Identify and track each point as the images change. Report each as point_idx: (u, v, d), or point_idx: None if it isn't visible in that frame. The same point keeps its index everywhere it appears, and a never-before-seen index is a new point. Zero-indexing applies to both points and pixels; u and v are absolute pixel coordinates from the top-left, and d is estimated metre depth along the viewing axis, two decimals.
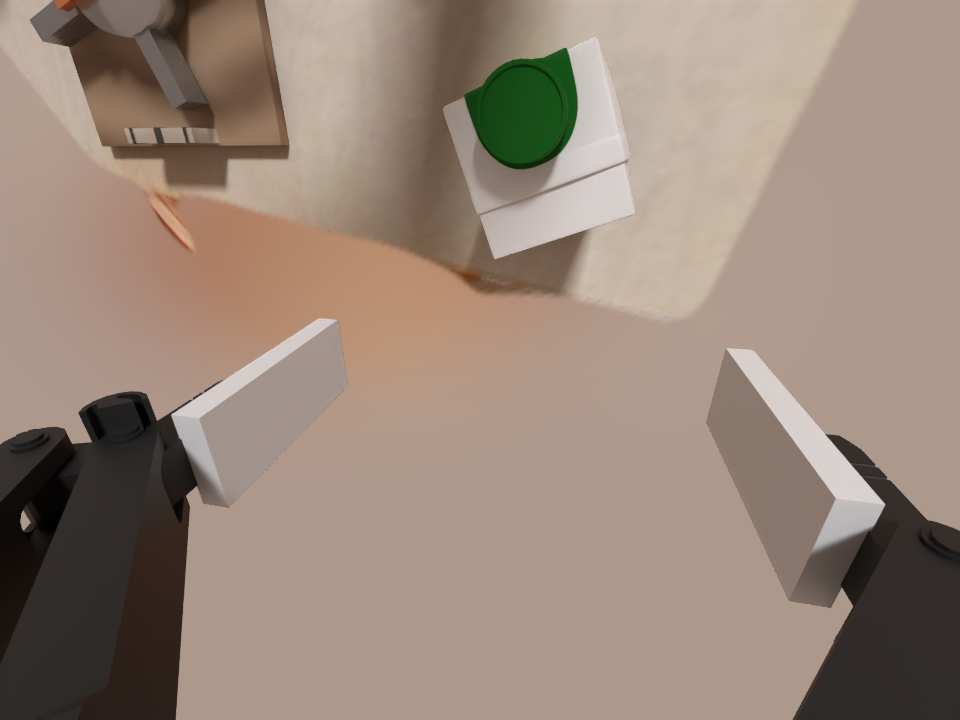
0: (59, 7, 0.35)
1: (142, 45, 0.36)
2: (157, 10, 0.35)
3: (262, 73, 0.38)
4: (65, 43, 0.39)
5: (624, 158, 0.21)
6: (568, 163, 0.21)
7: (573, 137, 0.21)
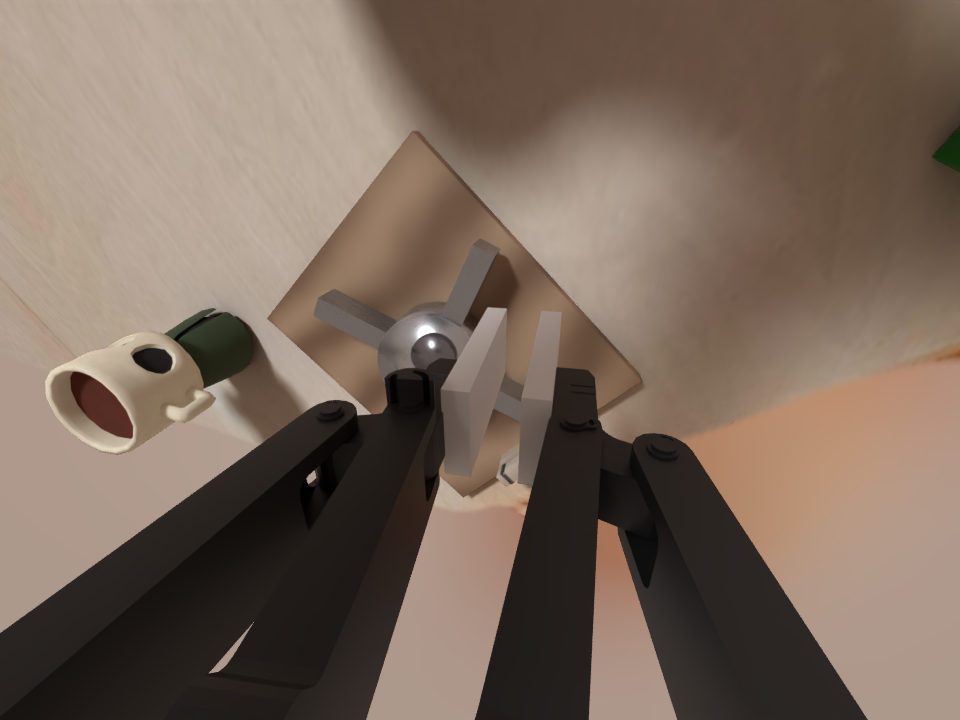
0: None
1: None
2: None
3: (587, 333, 0.32)
4: None
5: None
6: None
7: None
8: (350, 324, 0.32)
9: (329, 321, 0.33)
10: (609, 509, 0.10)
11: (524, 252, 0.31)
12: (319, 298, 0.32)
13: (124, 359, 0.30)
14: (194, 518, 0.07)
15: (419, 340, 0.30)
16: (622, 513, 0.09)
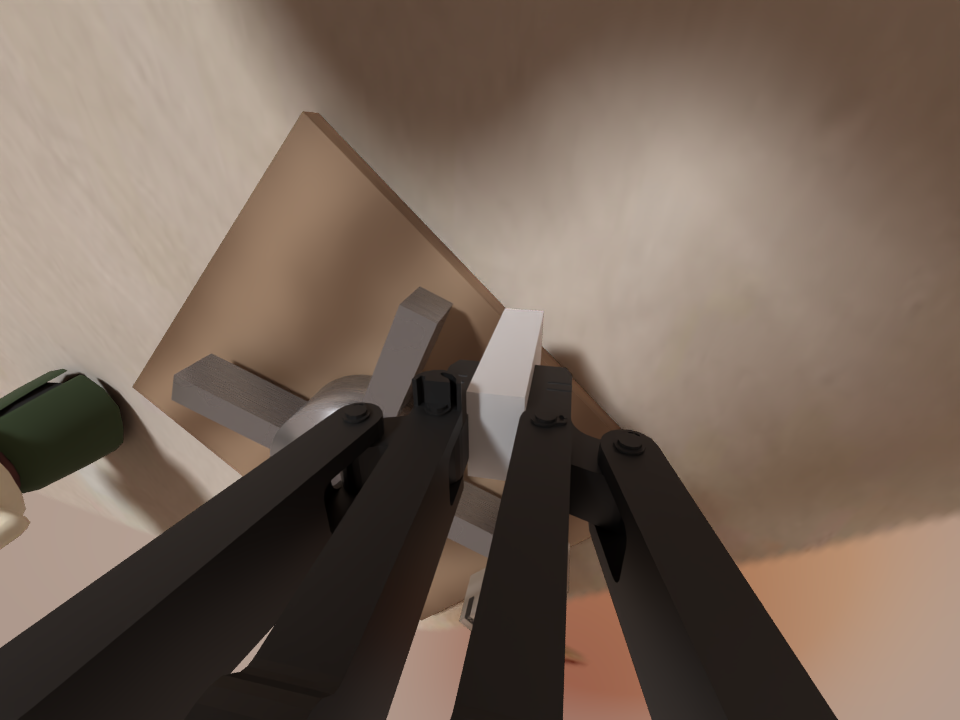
0: None
1: None
2: None
3: (592, 427, 0.21)
4: None
5: None
6: None
7: None
8: (226, 414, 0.21)
9: (196, 409, 0.21)
10: (578, 503, 0.10)
11: (493, 306, 0.20)
12: (176, 375, 0.21)
13: None
14: (219, 519, 0.07)
15: None
16: (591, 508, 0.10)
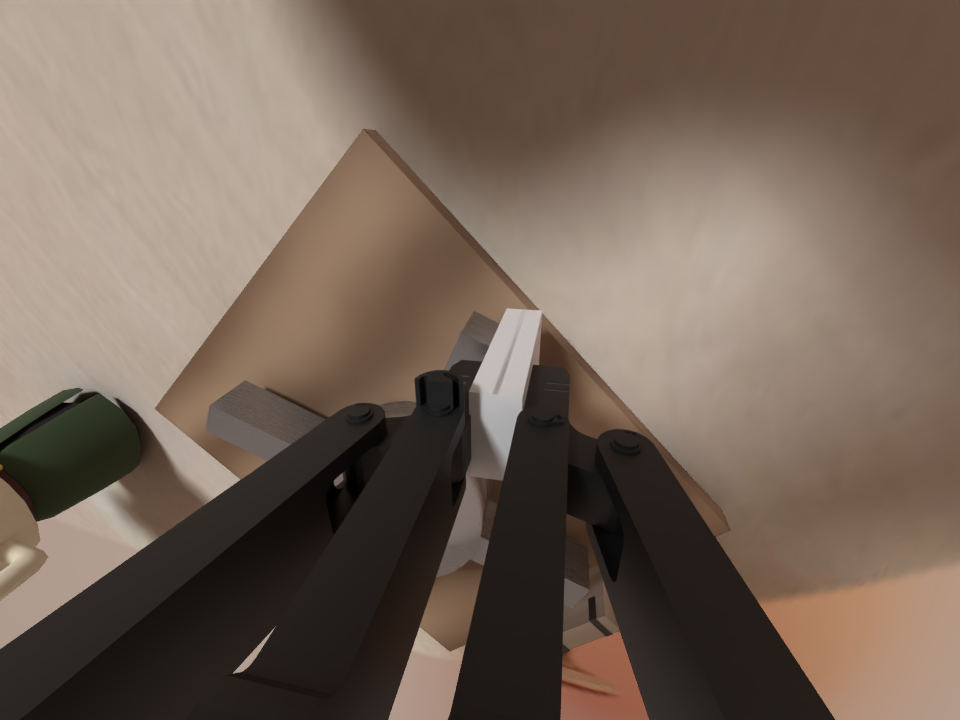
0: None
1: None
2: (482, 506, 0.19)
3: None
4: None
5: None
6: None
7: None
8: (264, 445, 0.20)
9: (232, 440, 0.20)
10: (574, 503, 0.10)
11: (552, 333, 0.19)
12: (212, 406, 0.19)
13: None
14: (222, 519, 0.07)
15: None
16: (587, 508, 0.10)
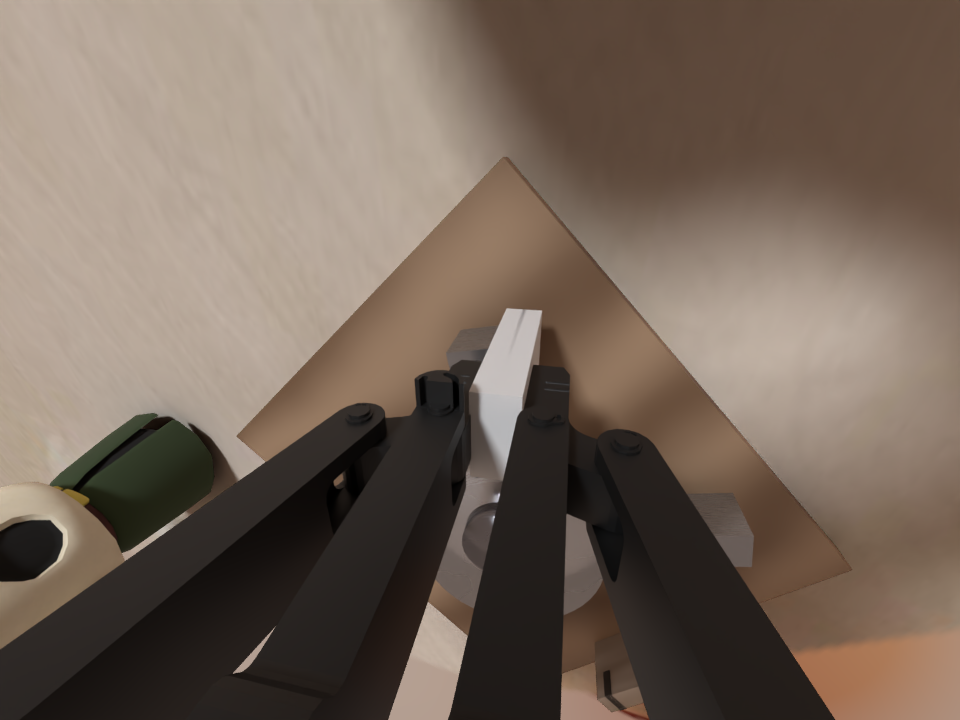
0: None
1: None
2: None
3: (772, 496, 0.19)
4: None
5: None
6: None
7: None
8: None
9: None
10: (575, 503, 0.10)
11: (681, 367, 0.18)
12: None
13: None
14: (221, 519, 0.07)
15: (465, 532, 0.18)
16: (588, 507, 0.10)
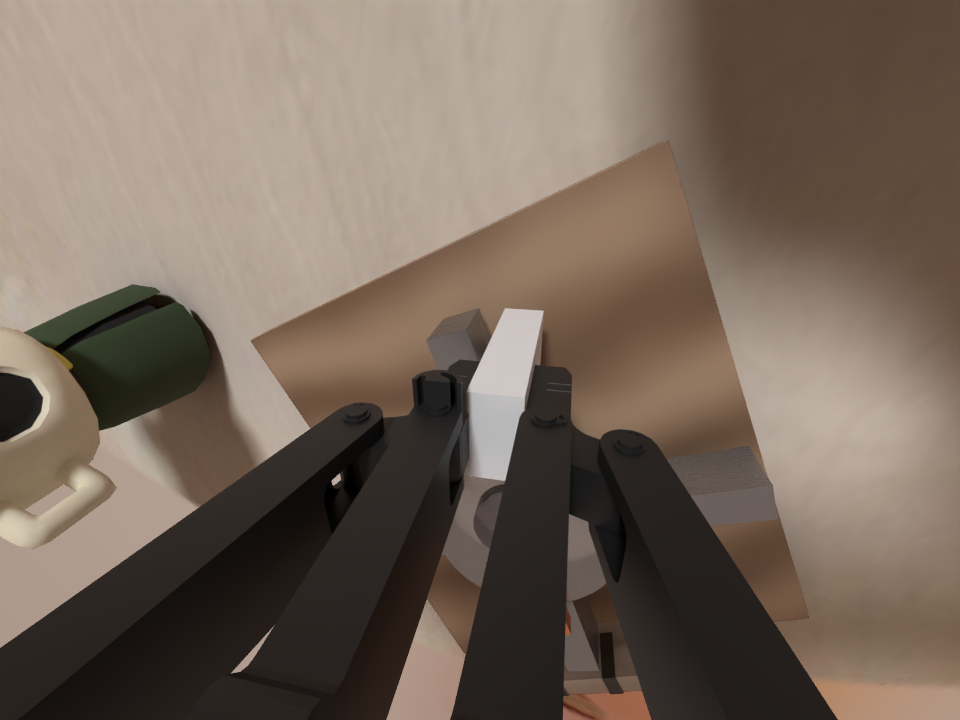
0: (568, 632, 0.19)
1: None
2: None
3: (771, 540, 0.21)
4: (596, 634, 0.23)
5: None
6: None
7: None
8: None
9: None
10: (577, 503, 0.10)
11: None
12: None
13: None
14: (219, 519, 0.07)
15: (475, 518, 0.18)
16: (590, 508, 0.10)
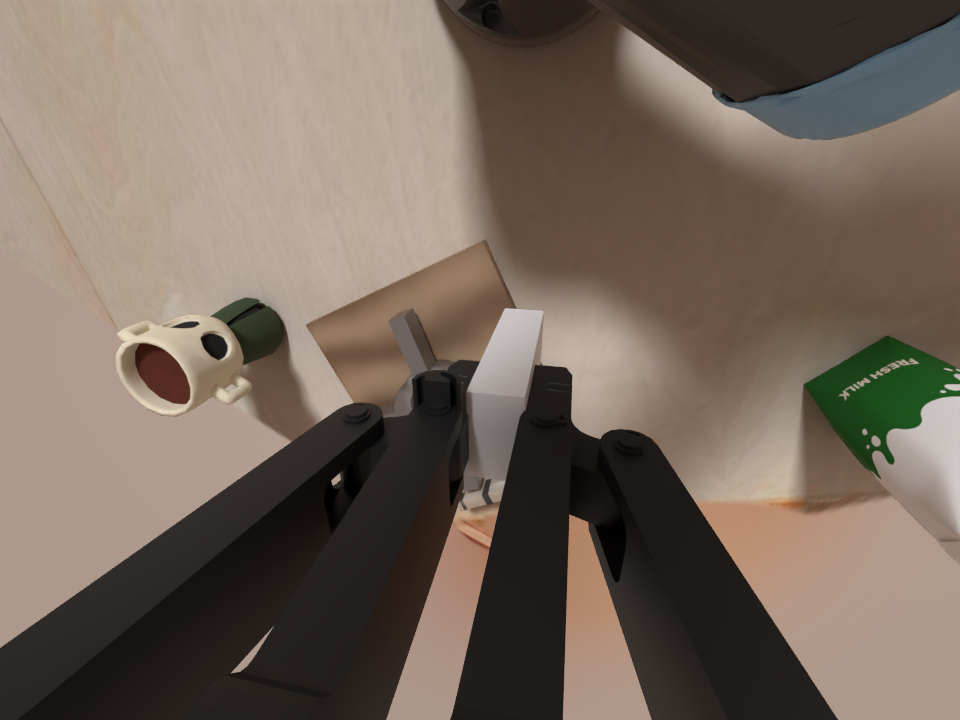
0: None
1: None
2: None
3: None
4: None
5: None
6: None
7: None
8: None
9: None
10: (578, 503, 0.10)
11: None
12: None
13: (196, 344, 0.35)
14: (219, 519, 0.07)
15: (411, 400, 0.40)
16: (591, 507, 0.10)
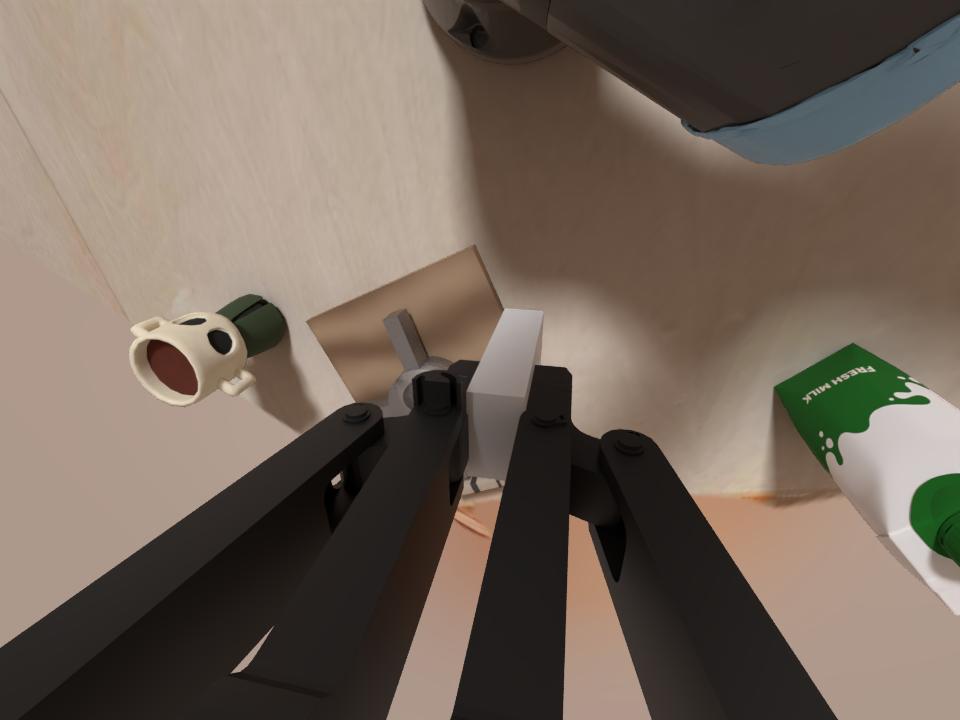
0: None
1: None
2: None
3: None
4: None
5: None
6: None
7: None
8: None
9: None
10: (578, 503, 0.10)
11: None
12: None
13: (203, 340, 0.38)
14: (219, 519, 0.07)
15: (403, 394, 0.42)
16: (590, 508, 0.10)
